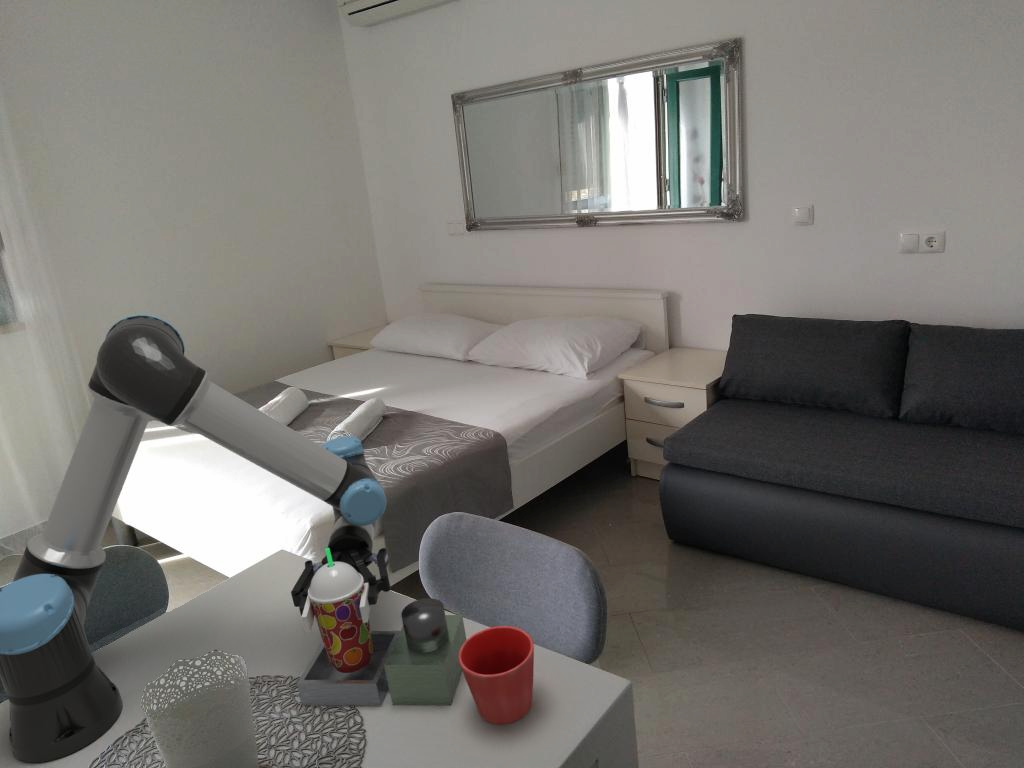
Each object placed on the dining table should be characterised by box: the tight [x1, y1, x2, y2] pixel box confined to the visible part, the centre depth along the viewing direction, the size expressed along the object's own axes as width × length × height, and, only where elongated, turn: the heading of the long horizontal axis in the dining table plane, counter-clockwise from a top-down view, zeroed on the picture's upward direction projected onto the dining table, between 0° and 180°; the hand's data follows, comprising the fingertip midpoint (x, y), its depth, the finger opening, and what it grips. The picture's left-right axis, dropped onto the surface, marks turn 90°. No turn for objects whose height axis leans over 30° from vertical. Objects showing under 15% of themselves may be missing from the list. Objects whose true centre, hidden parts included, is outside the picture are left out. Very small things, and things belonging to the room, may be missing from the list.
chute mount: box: [296, 597, 467, 707], centre depth 116 cm, size 23×13×12 cm, turn 81°
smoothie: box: [308, 547, 373, 673], centre depth 116 cm, size 8×8×20 cm
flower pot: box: [459, 625, 535, 726], centre depth 107 cm, size 11×11×10 cm
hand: (335, 619), depth 111 cm, fingers closed on smoothie, 8 cm apart
